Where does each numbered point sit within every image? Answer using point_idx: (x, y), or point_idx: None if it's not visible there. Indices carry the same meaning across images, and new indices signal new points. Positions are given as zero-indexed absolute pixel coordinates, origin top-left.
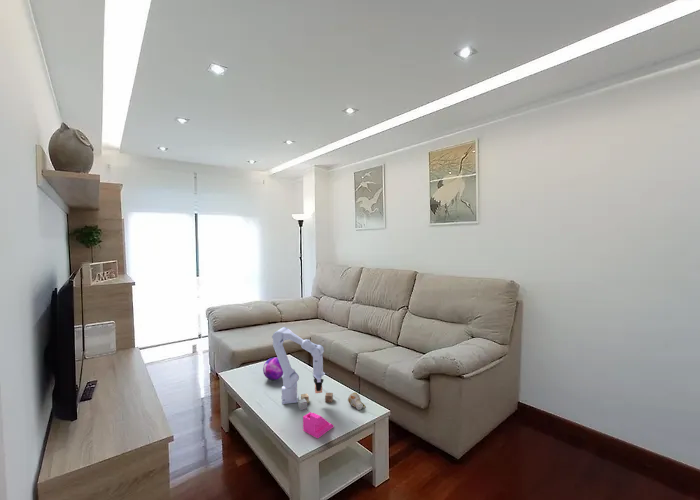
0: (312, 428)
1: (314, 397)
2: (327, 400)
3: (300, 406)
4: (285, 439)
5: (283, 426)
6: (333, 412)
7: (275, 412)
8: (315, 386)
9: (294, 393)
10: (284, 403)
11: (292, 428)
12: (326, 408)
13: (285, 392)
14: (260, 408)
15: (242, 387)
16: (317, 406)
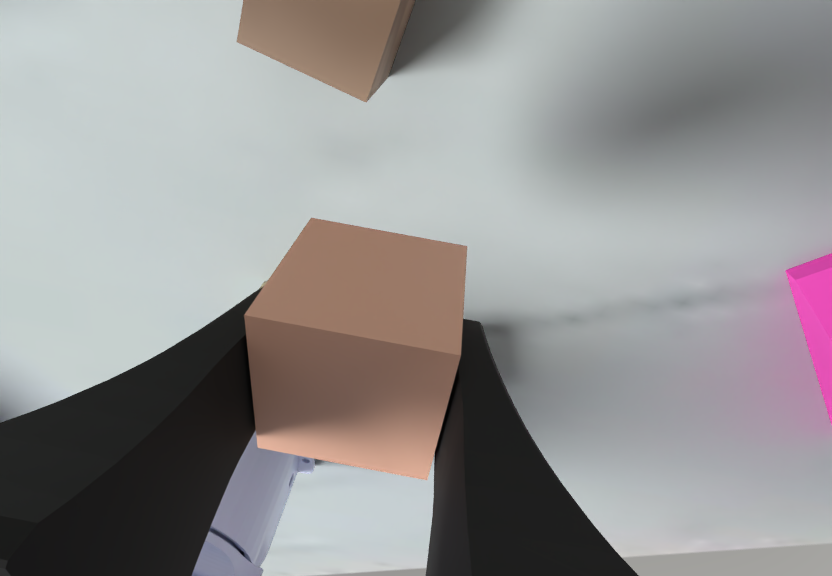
0: None
1: (223, 195)
2: (395, 42)
3: None
4: (827, 537)
5: (646, 515)
6: (763, 21)
7: (422, 513)
8: (418, 475)
9: (266, 474)
10: (314, 460)
11: (724, 483)
12: (575, 108)
13: (261, 546)
14: (337, 555)
15: None
16: (463, 215)
